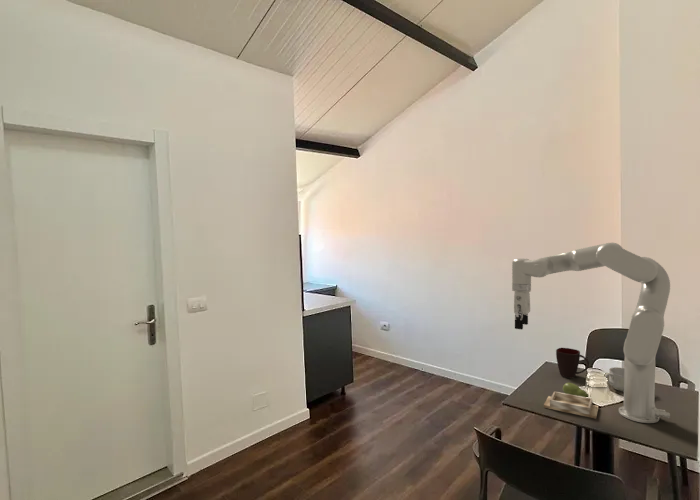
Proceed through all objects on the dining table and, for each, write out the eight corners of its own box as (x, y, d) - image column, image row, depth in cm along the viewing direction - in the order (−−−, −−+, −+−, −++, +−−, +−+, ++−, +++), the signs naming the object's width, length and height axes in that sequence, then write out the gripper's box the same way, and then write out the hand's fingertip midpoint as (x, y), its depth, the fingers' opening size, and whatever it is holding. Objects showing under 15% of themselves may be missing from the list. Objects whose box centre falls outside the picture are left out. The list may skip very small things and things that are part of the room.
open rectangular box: (598, 408, 163) (598, 399, 163) (596, 418, 155) (596, 409, 155) (548, 398, 174) (548, 390, 174) (543, 407, 165) (543, 398, 165)
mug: (559, 370, 206) (559, 346, 205) (591, 376, 197) (591, 352, 196) (553, 376, 199) (553, 351, 198) (586, 383, 189) (586, 357, 189)
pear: (568, 379, 180) (592, 390, 172) (566, 390, 181) (589, 401, 173) (561, 382, 177) (585, 393, 169) (559, 393, 178) (582, 405, 170)
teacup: (629, 384, 186) (629, 367, 186) (643, 394, 175) (644, 376, 175) (596, 384, 188) (596, 366, 187) (609, 394, 177) (609, 375, 176)
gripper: (526, 290, 170) (526, 332, 171) (534, 285, 184) (534, 323, 185) (507, 289, 174) (507, 329, 175) (517, 284, 188) (517, 321, 189)
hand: (521, 326), depth 180 cm, fingers open, 9 cm apart
